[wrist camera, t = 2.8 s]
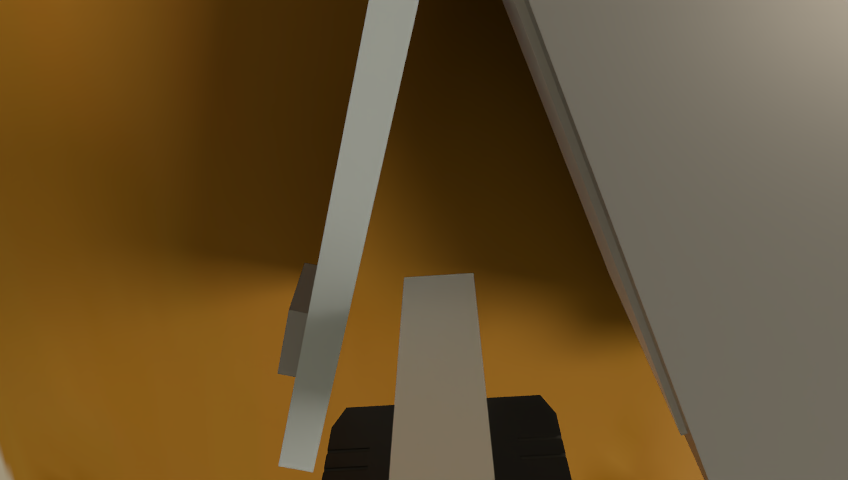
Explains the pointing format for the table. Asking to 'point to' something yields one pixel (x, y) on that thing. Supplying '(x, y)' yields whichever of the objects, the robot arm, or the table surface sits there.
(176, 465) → the table surface
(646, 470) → the table surface
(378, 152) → the door
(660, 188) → the cam body
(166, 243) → the table surface
